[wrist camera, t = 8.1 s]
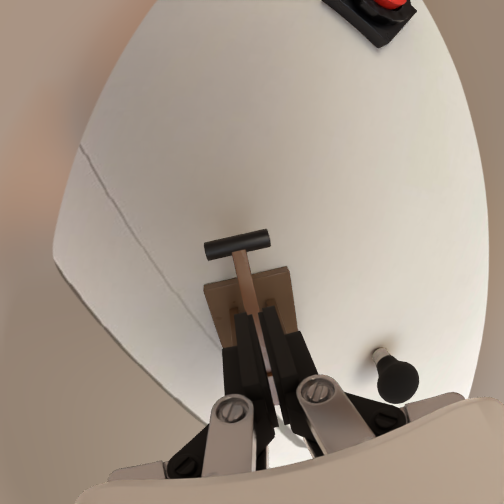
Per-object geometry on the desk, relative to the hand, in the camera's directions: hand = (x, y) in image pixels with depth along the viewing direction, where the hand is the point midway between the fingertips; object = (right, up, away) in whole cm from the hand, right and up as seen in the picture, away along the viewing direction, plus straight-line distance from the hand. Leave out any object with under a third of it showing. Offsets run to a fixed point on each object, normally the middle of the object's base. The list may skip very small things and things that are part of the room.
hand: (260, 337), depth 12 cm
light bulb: (+18, -11, +26) cm, 33 cm away
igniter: (+12, +30, +8) cm, 34 cm away
